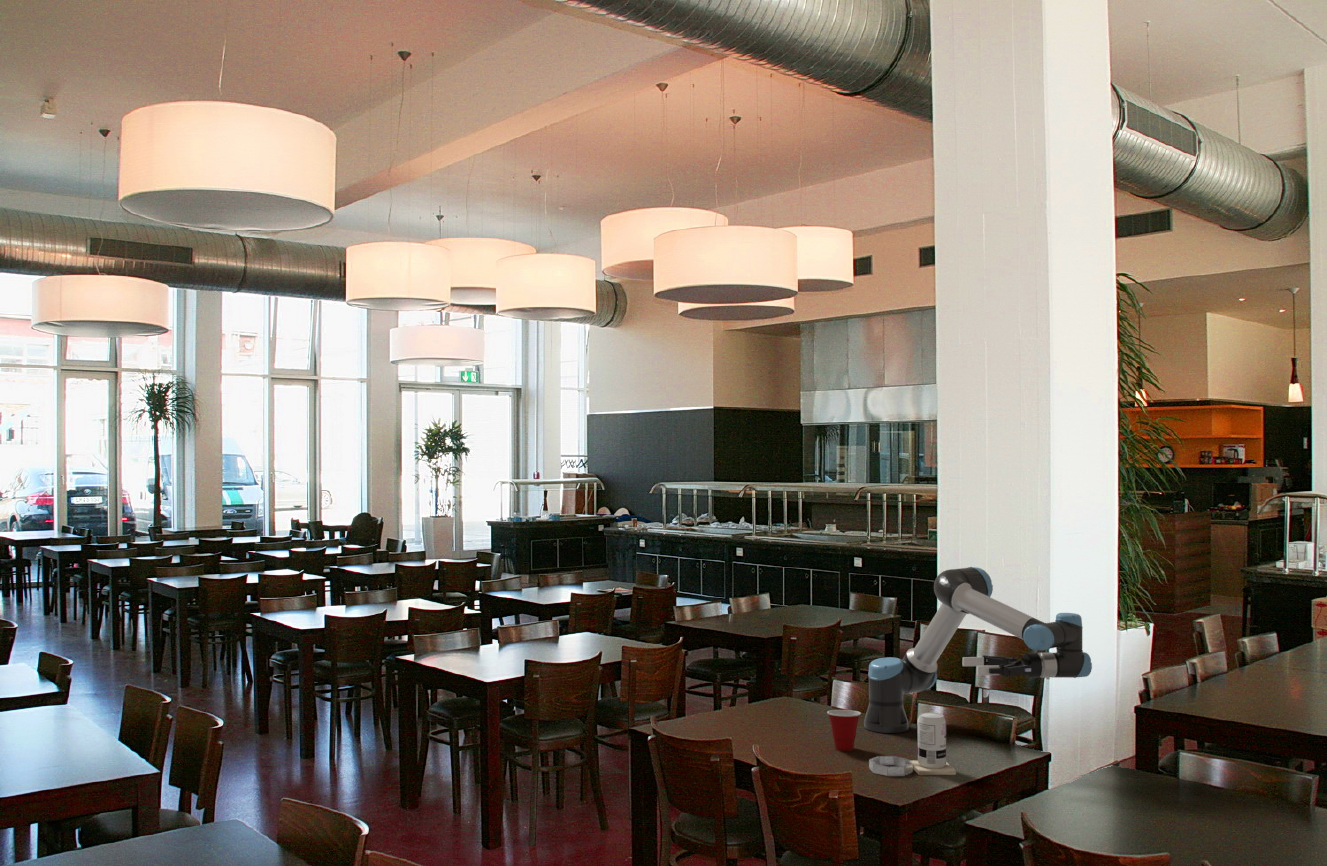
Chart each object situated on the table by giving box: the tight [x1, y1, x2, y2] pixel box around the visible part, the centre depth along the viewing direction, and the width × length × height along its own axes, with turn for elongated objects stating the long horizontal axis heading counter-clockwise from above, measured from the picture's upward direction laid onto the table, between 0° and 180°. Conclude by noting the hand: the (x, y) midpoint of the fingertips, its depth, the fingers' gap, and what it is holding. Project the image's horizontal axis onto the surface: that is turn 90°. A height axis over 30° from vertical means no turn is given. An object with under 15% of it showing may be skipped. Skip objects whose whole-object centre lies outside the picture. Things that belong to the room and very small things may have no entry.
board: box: [909, 759, 957, 776], centre depth 313 cm, size 11×11×1 cm
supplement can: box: [917, 711, 947, 769], centre depth 314 cm, size 8×8×15 cm
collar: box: [868, 755, 914, 777], centre depth 313 cm, size 12×12×2 cm
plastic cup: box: [826, 709, 862, 752], centre depth 337 cm, size 11×11×12 cm
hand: (969, 666), depth 319 cm, fingers open, 13 cm apart
